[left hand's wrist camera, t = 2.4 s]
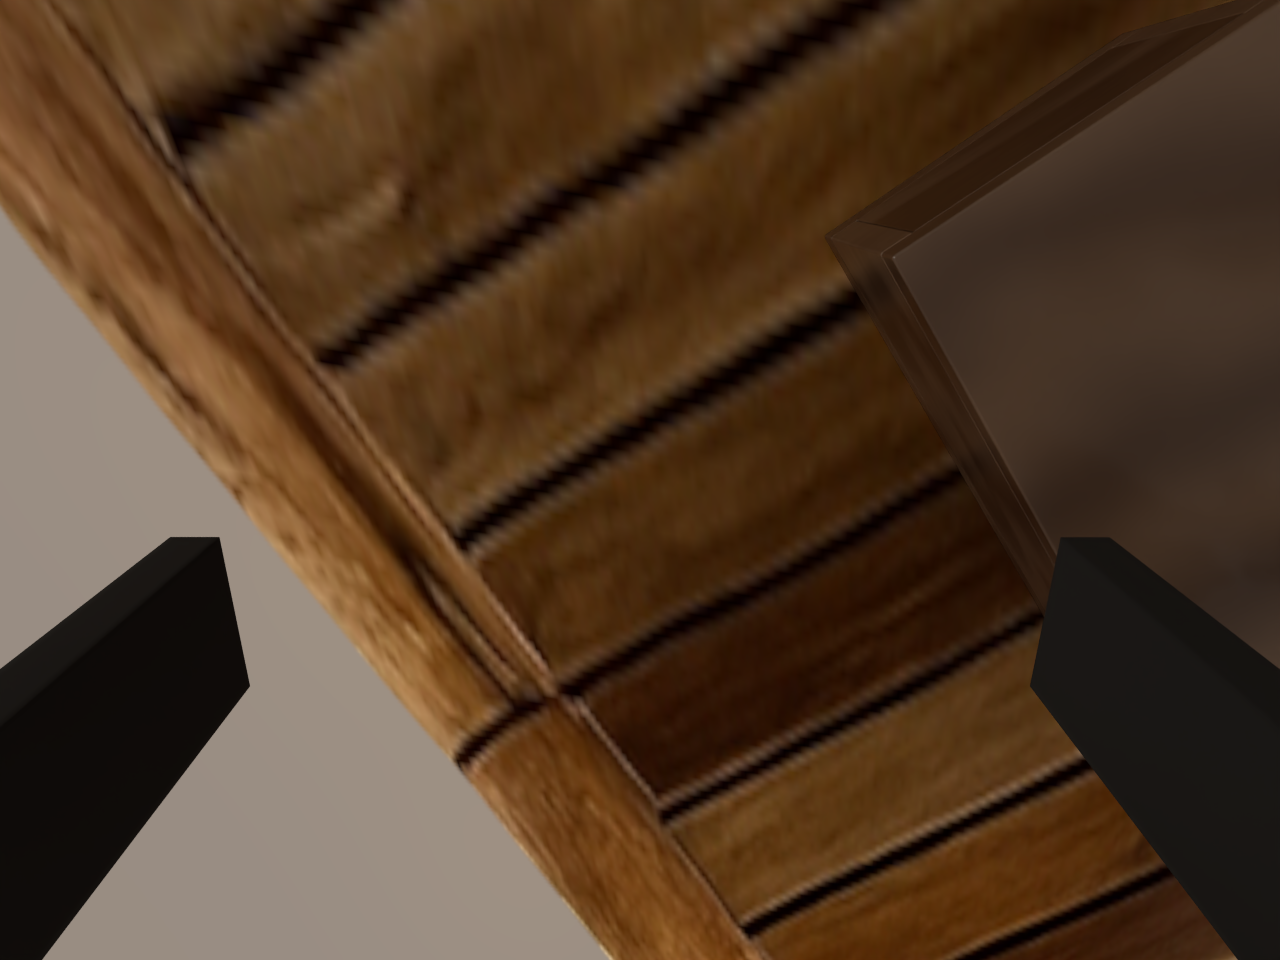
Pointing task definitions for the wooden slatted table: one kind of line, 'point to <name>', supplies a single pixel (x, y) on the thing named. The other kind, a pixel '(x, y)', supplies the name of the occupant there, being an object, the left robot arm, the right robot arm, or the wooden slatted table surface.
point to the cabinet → (1108, 310)
